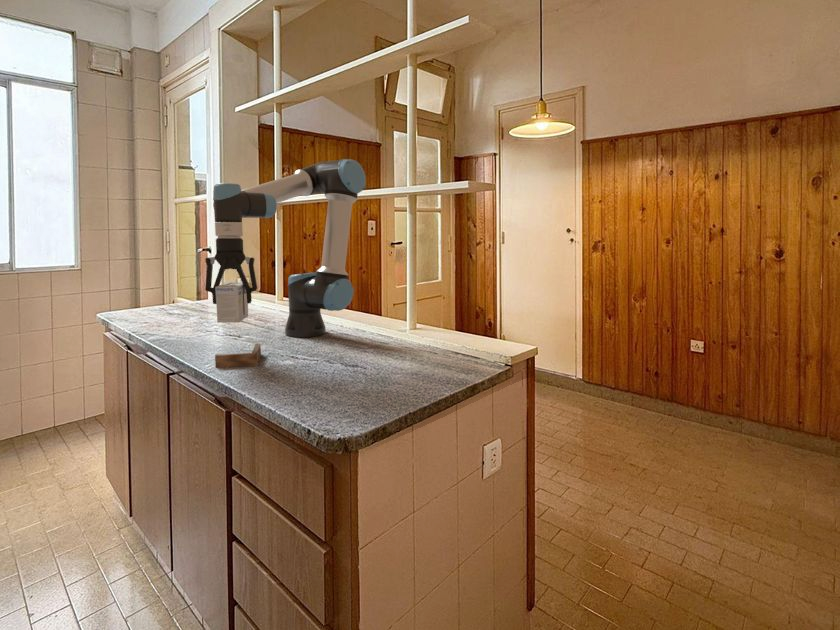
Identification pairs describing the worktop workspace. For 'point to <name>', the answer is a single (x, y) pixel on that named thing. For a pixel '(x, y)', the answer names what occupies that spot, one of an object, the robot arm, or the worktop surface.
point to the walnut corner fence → (239, 358)
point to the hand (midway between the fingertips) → (233, 314)
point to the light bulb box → (230, 302)
